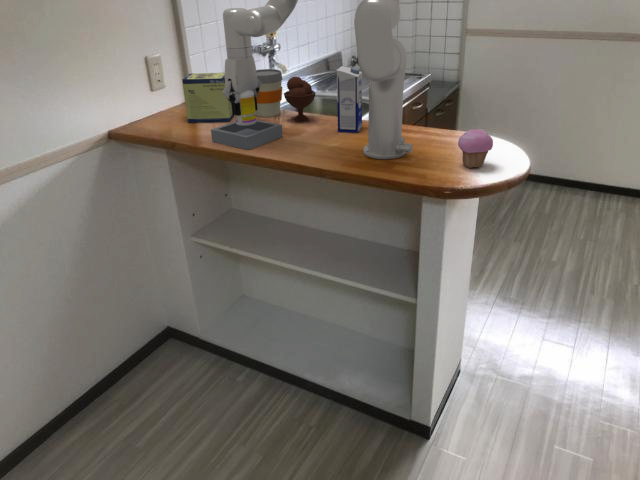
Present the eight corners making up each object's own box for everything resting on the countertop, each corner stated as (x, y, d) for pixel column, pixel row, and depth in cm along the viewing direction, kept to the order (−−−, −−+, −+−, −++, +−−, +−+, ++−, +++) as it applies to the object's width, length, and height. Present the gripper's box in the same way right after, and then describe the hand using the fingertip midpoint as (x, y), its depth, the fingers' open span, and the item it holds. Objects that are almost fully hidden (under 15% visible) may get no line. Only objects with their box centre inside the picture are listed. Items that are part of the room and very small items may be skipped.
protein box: (230, 122, 193) (225, 77, 186) (187, 123, 193) (181, 79, 186) (235, 114, 202) (230, 71, 195) (194, 115, 203) (187, 73, 195)
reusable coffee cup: (269, 107, 210) (266, 67, 203) (291, 112, 202) (289, 71, 195) (244, 114, 202) (240, 73, 195) (265, 120, 194) (262, 77, 187)
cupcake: (484, 160, 150) (488, 124, 145) (494, 171, 142) (498, 134, 137) (452, 161, 150) (455, 126, 145) (460, 172, 142) (463, 135, 137)
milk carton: (342, 126, 184) (341, 65, 175) (362, 127, 182) (362, 65, 173) (337, 132, 178) (336, 69, 169) (357, 133, 176) (357, 69, 167)
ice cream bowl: (303, 125, 186) (301, 80, 179) (279, 120, 192) (276, 77, 185) (322, 118, 194) (321, 75, 187) (298, 114, 200) (296, 72, 193)
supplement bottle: (260, 122, 173) (257, 81, 167) (248, 127, 168) (244, 85, 162) (243, 119, 176) (239, 79, 170) (231, 125, 171) (226, 83, 165)
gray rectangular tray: (282, 136, 175) (282, 124, 173) (248, 150, 164) (246, 137, 162) (247, 129, 184) (246, 117, 182) (212, 141, 173) (210, 129, 171)
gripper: (250, 48, 170) (255, 105, 178) (209, 56, 158) (216, 117, 166) (268, 49, 166) (272, 108, 174) (227, 58, 154) (233, 120, 162)
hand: (245, 111), depth 170 cm, fingers closed on supplement bottle, 6 cm apart
